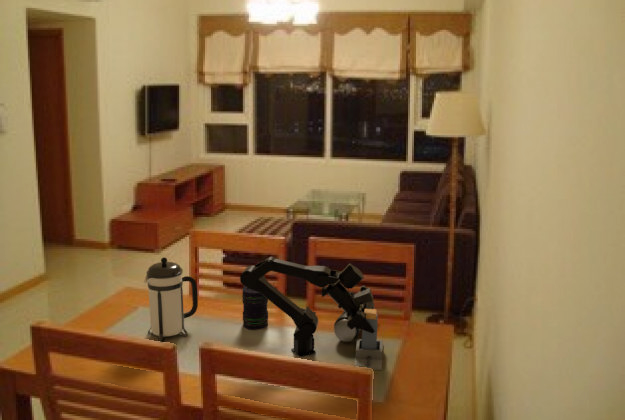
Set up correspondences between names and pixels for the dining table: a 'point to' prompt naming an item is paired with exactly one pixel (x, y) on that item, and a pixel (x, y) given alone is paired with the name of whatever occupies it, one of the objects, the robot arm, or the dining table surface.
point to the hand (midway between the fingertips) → (373, 329)
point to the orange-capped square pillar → (369, 338)
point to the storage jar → (254, 309)
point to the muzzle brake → (343, 330)
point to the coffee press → (168, 298)
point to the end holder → (369, 356)
